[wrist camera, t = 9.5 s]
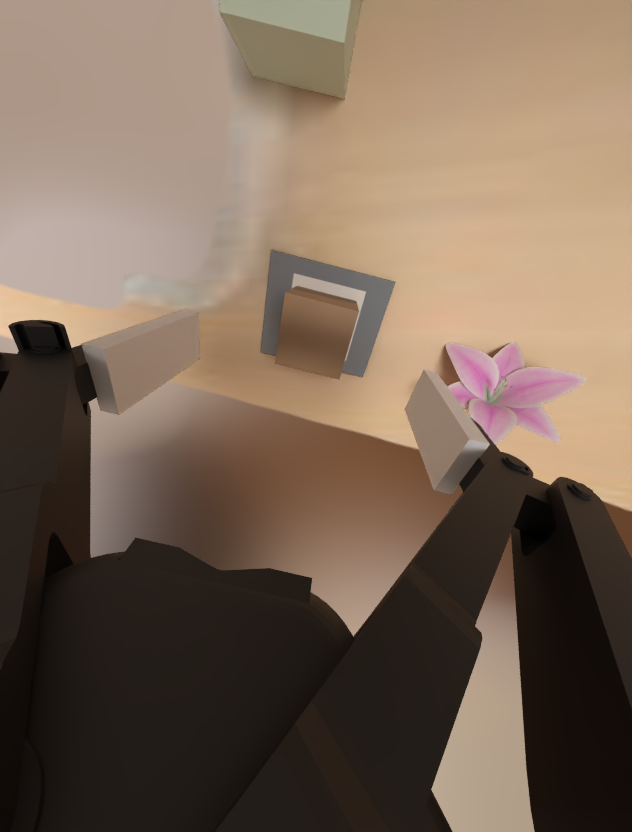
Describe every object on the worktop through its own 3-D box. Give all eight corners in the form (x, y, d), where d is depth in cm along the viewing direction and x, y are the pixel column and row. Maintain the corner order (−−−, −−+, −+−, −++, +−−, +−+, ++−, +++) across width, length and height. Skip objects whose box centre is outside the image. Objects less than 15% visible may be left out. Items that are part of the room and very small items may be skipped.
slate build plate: (272, 250, 25) (271, 250, 24) (394, 281, 25) (395, 282, 24) (261, 350, 30) (260, 352, 29) (362, 375, 30) (362, 377, 30)
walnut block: (297, 285, 25) (285, 292, 20) (356, 300, 26) (359, 311, 20) (287, 344, 29) (275, 363, 23) (340, 358, 29) (339, 379, 24)
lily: (555, 367, 29) (637, 349, 19) (504, 461, 30) (556, 485, 21) (448, 330, 31) (475, 299, 22) (405, 419, 33) (414, 424, 24)
